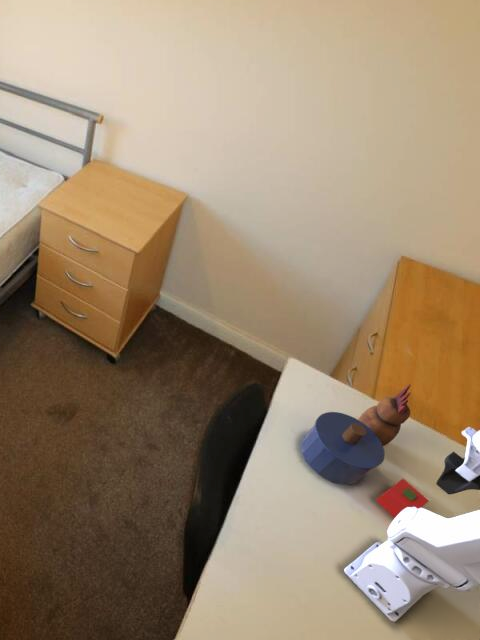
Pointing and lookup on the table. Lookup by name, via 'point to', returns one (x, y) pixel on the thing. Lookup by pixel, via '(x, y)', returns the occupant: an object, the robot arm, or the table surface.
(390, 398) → the wooden figurine
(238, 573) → the table surface
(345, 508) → the table surface
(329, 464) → the pot
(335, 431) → the pot lid
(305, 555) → the table surface
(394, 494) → the block
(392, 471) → the table surface
